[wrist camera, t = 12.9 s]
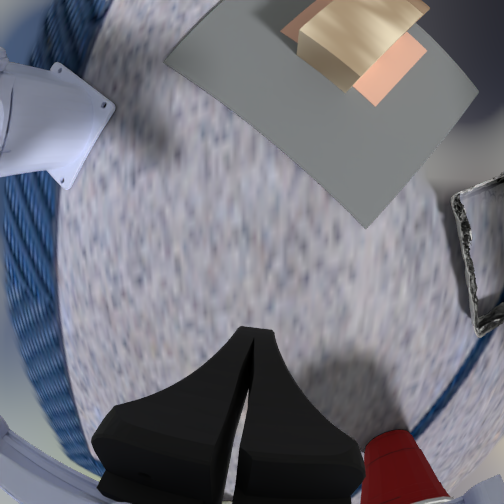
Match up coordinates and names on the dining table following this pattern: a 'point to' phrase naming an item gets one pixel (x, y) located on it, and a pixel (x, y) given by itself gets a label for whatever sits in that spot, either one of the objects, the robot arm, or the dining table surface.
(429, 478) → the plastic cup
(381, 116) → the rubber mat
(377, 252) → the dining table surface
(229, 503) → the coffee can
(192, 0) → the dining table surface
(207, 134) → the dining table surface
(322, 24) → the maple block
